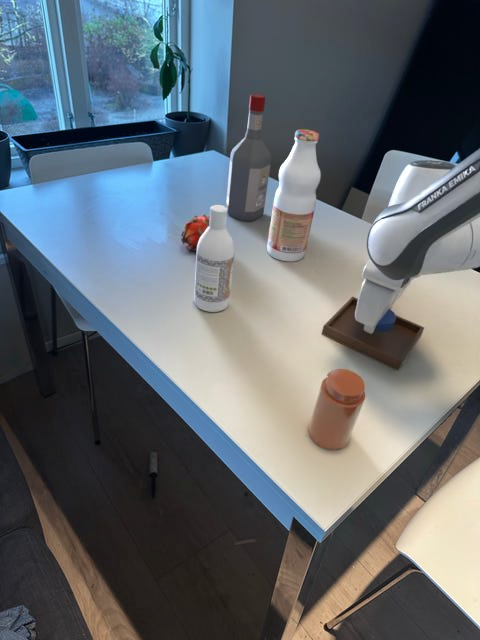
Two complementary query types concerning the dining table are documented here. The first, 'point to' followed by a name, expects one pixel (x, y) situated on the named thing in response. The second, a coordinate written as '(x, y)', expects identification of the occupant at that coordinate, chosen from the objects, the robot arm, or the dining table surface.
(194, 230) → the dragon fruit
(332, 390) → the jar
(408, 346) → the tray
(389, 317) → the jar lid
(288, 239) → the fruit juice
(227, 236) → the bath foam
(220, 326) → the dining table surface
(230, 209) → the liquor
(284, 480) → the dining table surface
